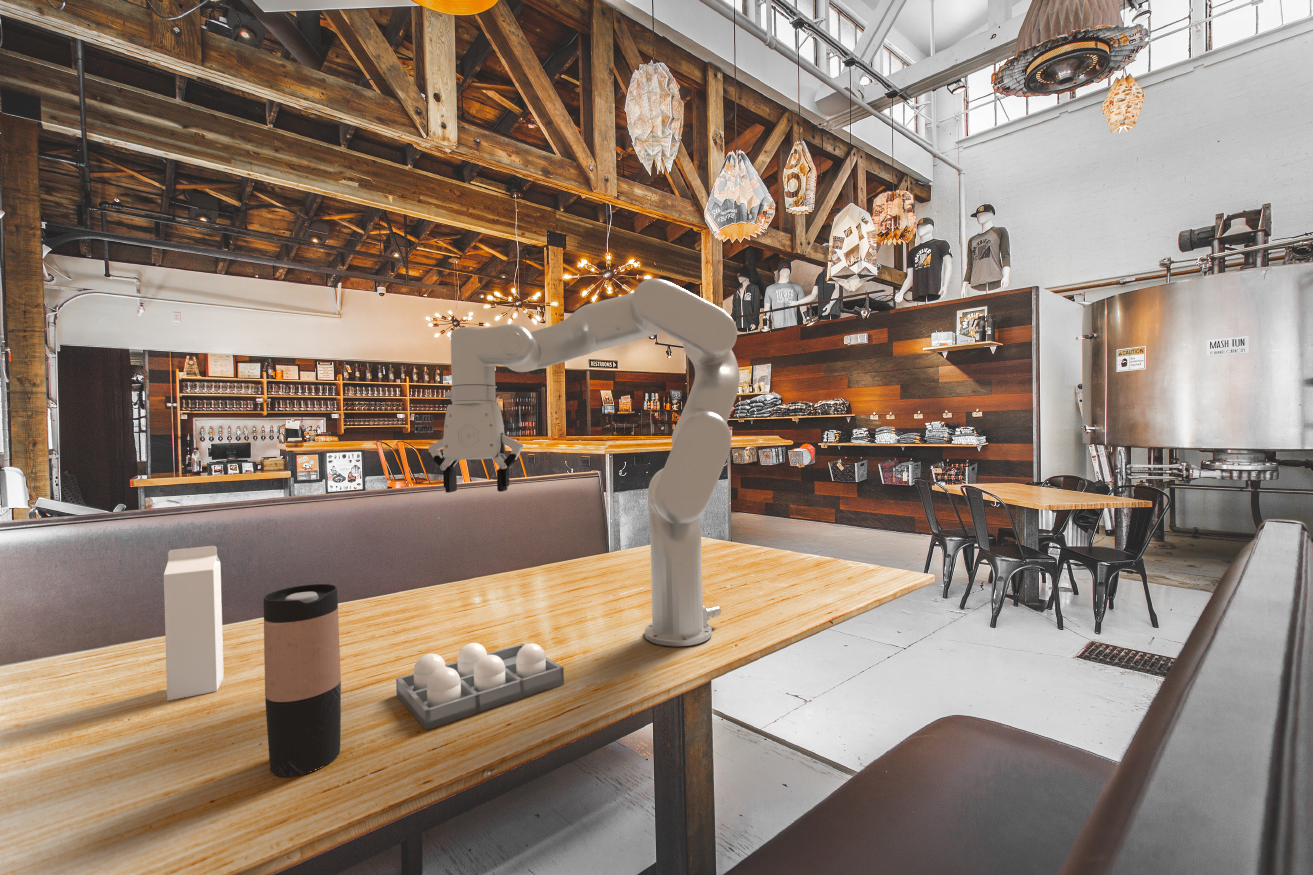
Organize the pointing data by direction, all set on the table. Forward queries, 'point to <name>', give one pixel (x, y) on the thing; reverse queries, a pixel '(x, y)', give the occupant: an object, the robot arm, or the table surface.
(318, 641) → the travel mug
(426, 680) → the egg
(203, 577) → the milk
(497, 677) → the carton
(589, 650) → the table surface
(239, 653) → the table surface
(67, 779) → the table surface
